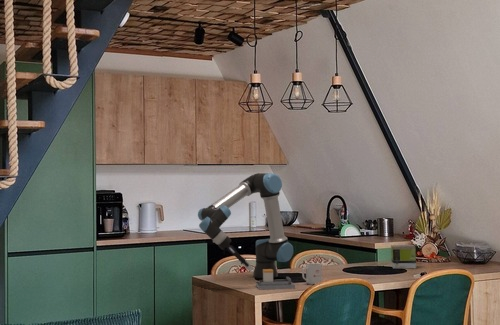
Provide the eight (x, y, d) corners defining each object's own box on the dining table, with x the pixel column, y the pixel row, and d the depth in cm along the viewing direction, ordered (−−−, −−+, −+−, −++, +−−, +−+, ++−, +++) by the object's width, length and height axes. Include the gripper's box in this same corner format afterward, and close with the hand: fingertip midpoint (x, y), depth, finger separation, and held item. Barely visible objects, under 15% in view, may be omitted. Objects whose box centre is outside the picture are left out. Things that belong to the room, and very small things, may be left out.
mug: (316, 282, 404) (316, 263, 404) (324, 284, 396) (324, 264, 396) (298, 283, 398) (298, 264, 398) (306, 286, 390) (306, 266, 390)
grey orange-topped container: (264, 284, 385) (264, 270, 385) (262, 283, 390) (262, 269, 390) (273, 284, 386) (273, 270, 386) (272, 282, 391) (271, 269, 391)
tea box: (414, 266, 462) (413, 244, 462) (416, 268, 452) (416, 246, 452) (391, 266, 463) (391, 244, 463) (392, 268, 453) (392, 246, 453)
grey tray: (259, 289, 381) (259, 280, 381) (256, 285, 394) (256, 276, 394) (294, 288, 383) (294, 279, 383) (290, 284, 396) (290, 275, 396)
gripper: (216, 244, 391) (246, 273, 393) (218, 246, 378) (248, 276, 380) (226, 234, 392) (255, 263, 393) (227, 236, 379) (258, 266, 380)
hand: (252, 269), depth 386 cm, fingers closed
